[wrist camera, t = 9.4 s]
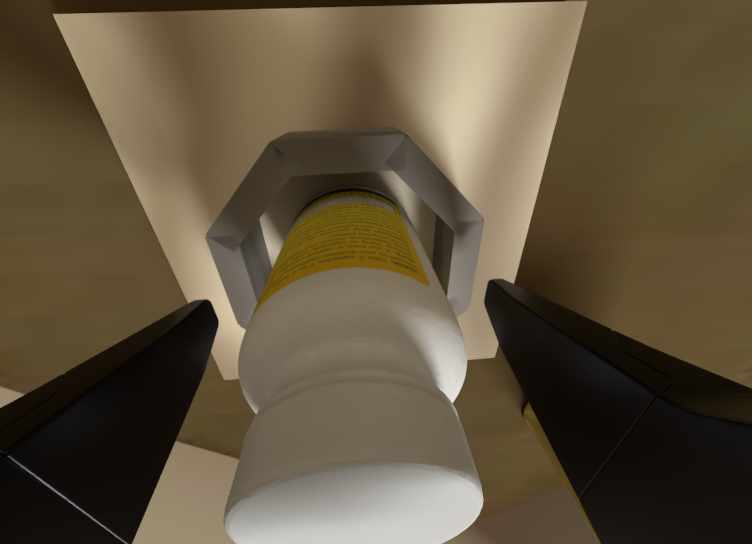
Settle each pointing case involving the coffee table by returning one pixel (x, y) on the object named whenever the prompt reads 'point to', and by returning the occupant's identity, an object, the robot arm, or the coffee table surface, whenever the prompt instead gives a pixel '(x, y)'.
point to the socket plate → (331, 133)
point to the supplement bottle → (353, 388)
